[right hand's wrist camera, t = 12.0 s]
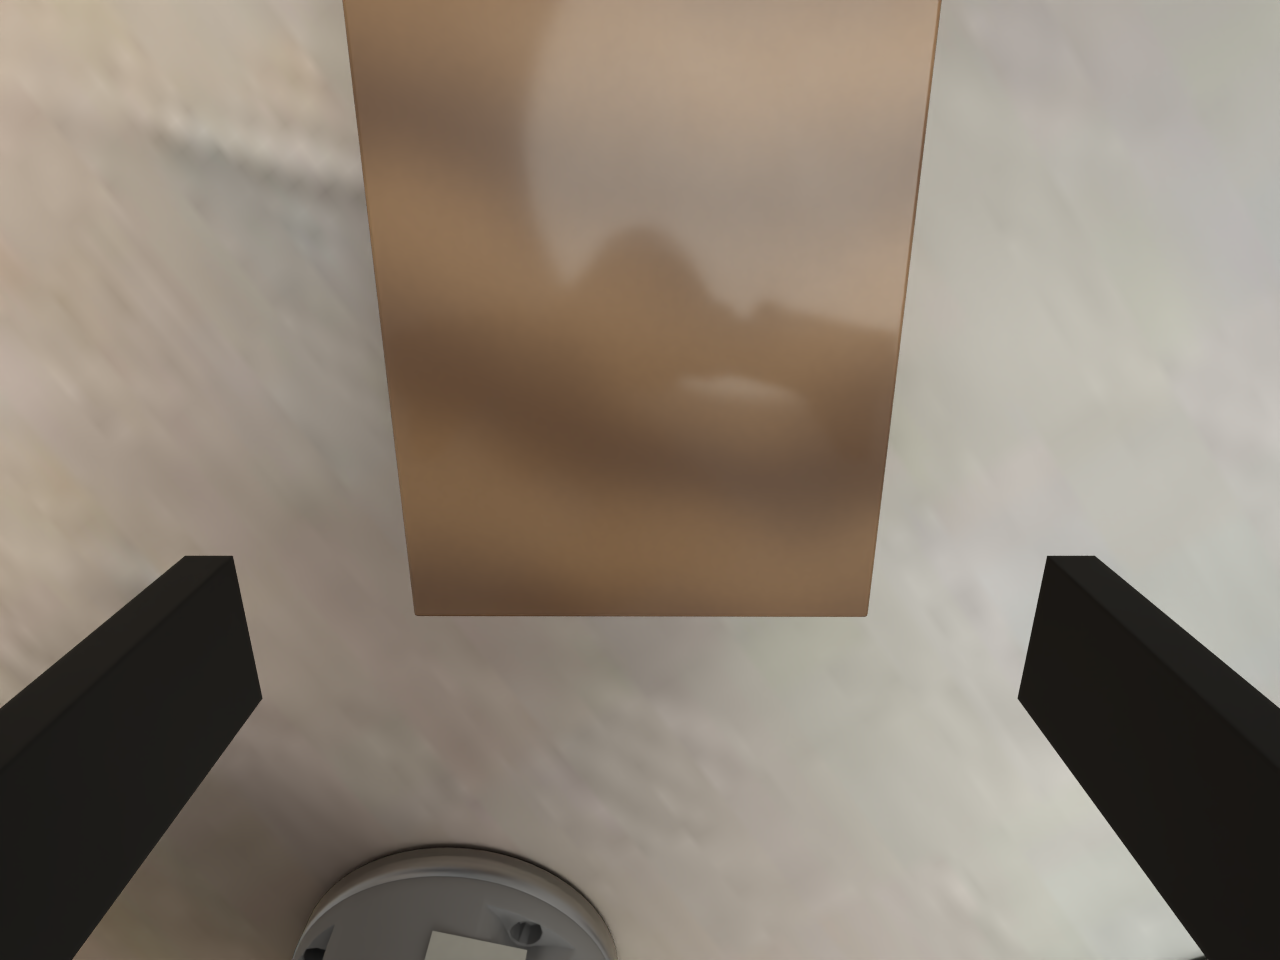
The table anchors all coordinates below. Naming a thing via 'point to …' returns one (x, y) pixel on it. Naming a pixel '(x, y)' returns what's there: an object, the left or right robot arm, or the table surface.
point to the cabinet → (641, 293)
